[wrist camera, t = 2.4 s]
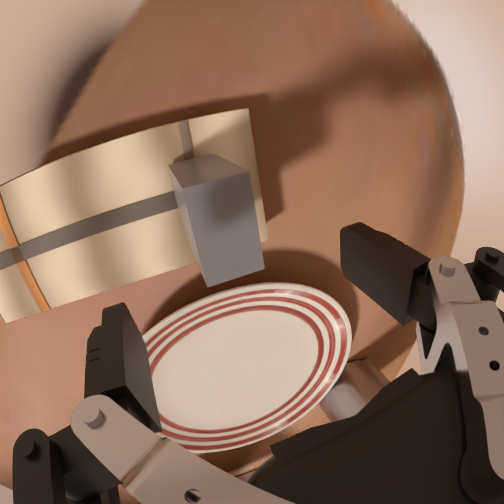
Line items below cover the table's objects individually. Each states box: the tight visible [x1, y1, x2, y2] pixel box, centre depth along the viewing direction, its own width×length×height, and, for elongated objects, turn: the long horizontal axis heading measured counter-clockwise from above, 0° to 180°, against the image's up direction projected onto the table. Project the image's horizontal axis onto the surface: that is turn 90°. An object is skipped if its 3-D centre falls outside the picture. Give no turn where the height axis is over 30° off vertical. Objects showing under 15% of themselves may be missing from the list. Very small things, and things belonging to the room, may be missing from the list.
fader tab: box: [168, 153, 265, 287], centre depth 17 cm, size 3×5×7 cm, turn 9°
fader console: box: [0, 108, 268, 323], centre depth 19 cm, size 23×10×3 cm, turn 99°
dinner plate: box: [142, 282, 352, 453], centre depth 31 cm, size 28×27×3 cm
